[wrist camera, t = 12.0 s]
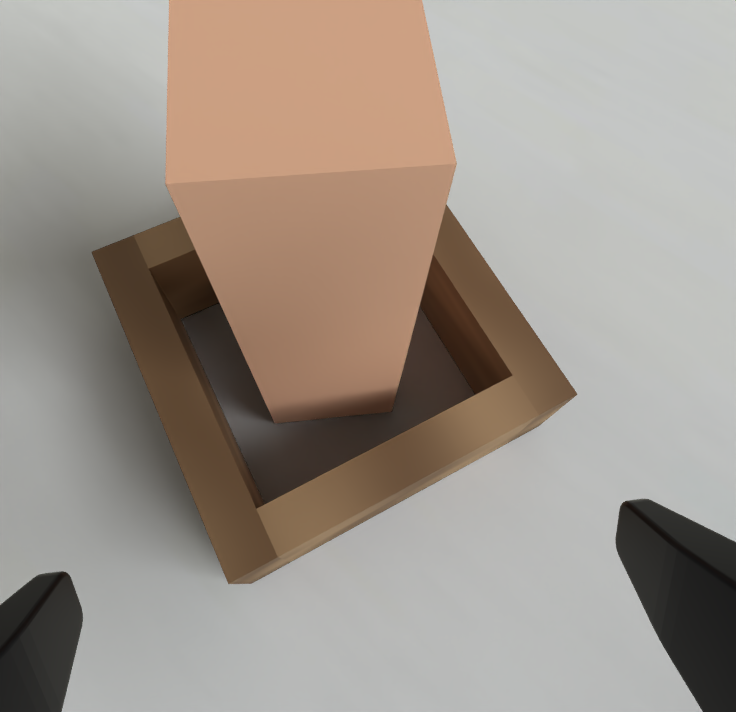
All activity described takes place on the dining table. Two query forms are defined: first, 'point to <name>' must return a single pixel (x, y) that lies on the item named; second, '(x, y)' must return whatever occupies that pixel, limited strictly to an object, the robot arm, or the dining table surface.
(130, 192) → the dining table surface
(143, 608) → the dining table surface
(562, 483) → the dining table surface
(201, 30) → the terracotta peg
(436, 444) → the walnut well holder
